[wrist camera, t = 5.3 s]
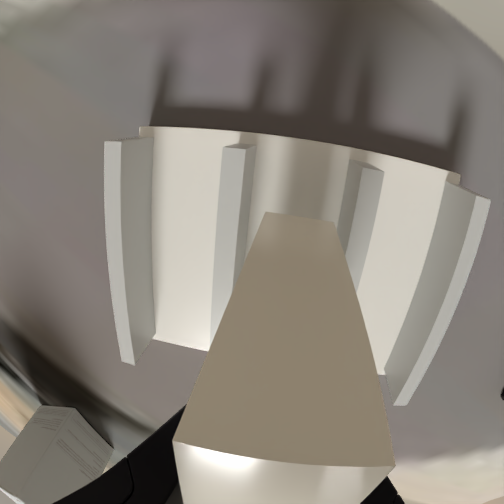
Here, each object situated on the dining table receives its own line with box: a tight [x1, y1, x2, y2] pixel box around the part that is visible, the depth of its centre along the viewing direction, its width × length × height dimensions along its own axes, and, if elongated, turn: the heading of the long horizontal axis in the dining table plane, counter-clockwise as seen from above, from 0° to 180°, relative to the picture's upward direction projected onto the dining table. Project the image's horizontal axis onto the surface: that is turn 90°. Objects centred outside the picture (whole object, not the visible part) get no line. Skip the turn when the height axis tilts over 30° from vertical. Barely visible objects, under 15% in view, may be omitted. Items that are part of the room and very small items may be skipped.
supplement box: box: [0, 405, 114, 504], centre depth 21 cm, size 7×7×13 cm
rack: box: [104, 126, 491, 406], centre depth 14 cm, size 15×12×4 cm
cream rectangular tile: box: [172, 211, 395, 504], centre depth 8 cm, size 2×7×9 cm, turn 174°
